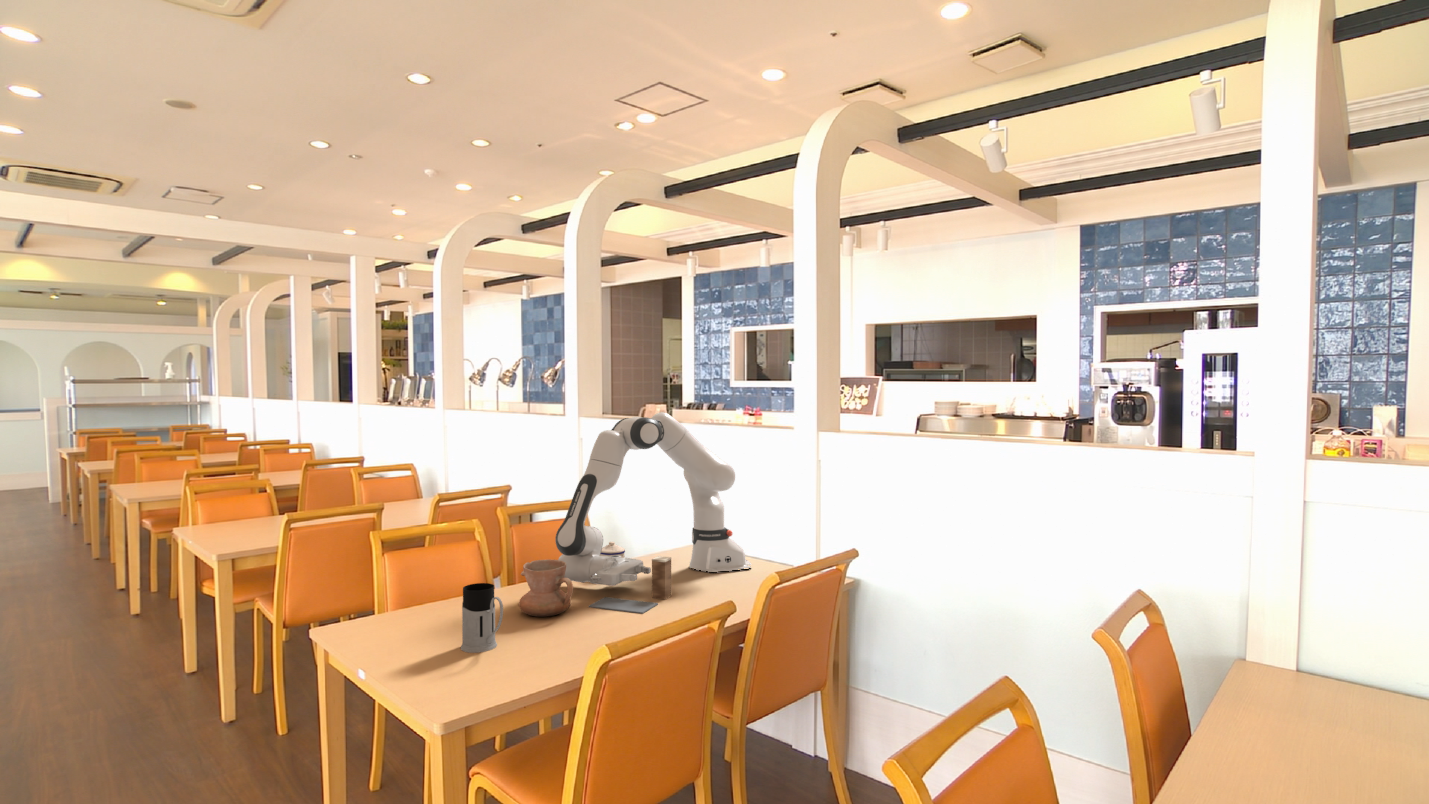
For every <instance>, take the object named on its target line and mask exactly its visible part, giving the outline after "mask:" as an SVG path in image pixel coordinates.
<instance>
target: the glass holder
mask: <svg viewBox="0 0 1429 804" xmlns="http://www.w3.org/2000/svg"><path fill="white" fill-rule="evenodd" d="M495 600H497V601H498V604H499V611H500V612H499V617H498V618H499V619H498V622H497V625H496V604H495ZM461 606H462V607H461V609H462V610H461V611H462V612H461V613H462V614H461V615H462V616H461V619H462V620H461V623H462V625H461V626H462V631H461V632H462V633H461V634H462V641H461V642H462V643H461V645H460V650H461V651H463V652H465V653H470V654H471V653H473V654H475V653H484V652H487V651H492V650H494V649H495V648H497V647H498V643H497V641H496V633H497V631H498V630H499V629H500V628H501V624H502V622H503V618H504V617H503V615H504V604H503V601H502V598H500V597H498V596H495V585H494V584H493V583H490V582H489V583H487V582H477V583H471V584H467V585H465V586H463V587H462V605H461Z"/></svg>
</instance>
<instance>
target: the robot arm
mask: <svg viewBox="0 0 1429 804" xmlns="http://www.w3.org/2000/svg"><path fill="white" fill-rule="evenodd" d="M656 445H658V447H659V448H660V449H661V450H662V451H663V452H664V453H665V454H666V455H667V456H668V457H669V458H670V459H671V460H672V461H673V462H674V463H675V464H676V465H678V467H681V468H682V469H683V476H684V479H685V480H686V482H687V484H688V488H689V492H690V496H691V500H692V506H693V507H692V508H693V527H692V530H691V543H692V551H691V552H692V553H691V558H690V561H689V566H690V567H689V566H688V567H689V568H690V569H691V568H694V569H696V570H695V571H699V570H701V572H706V571H708V572H707V573H709V572H717V573H719V572H718V571H729V572H733V571H732V570H738V569H744V568H750V567H751V566H748V565H752V563H751V561H749V560H747V559H746V554H745V553H746V552H745V551H744V549H743V547H741V546H740V545H739V544H738V543H737V542H735V541H734V540H733V539H731V538H730V537H732V536H733V534H734V533H733V531H732V530H731V529H728V528H727V527H725V506H724V503H723V502H722V500H721V497H720V495H719V492H725V491H727V490H730V489H731V488H732V487H733V486H734V484H735V481H736V472H735V470H734V468H733V467H732V466H731V465H730V464H728V463H727V462H725V461H724V460H722V459H721V458H720V457H719V456H717V454H715V453H714V452H712V450H709V449H708V448H707V447H705V446H704V445H703V444H702V443H701V442H699V441H698V440H697V439H696V438H695V437H694V436H693V435H692V433H690V431H689V430H688V429H687V428H686V427H685V426H684V425H683V424H682V423H680V421H678V420H677V418H676V419H675V417H673V416H672V415H670V414H669V413H667V412H663V411H661V412H658V413H655V414H654V415H652V416H651V417H648V416H647V417H646V416H645V417H644V416H643V417H642V416H632V417H626V418H623V419H620V420H619V421H617V422H616V423H615V424H614V425H613V427H612V428H611V429H608V430H603V431H601V432H600V433H599V434H598V435H597V438H596V440H595V443H594V445H593V447H592V450H591V452H590V456H589V460H588V463H587V466H586V468H585V471H584V474H583V475H582V477H581V478H580V479H579V482H578V483H577V486H576V488H575V491H574V493H573V497H572V498H571V502H570V505H569V507H568V510H567V513H566V516H565V517H564V520H563V522H562V523H561V525H560V526H559V528H558V529H557V531H556V533H555V542H554V543H555V545H556V548H557V550H558V551H559V552H560V553H561V555H560V556H559V557H558V559H557V560H560V561H564V562H566V571H565V576H564V577H565V578H569V579H570V580H571V581H572V582H577V583H586V582H587V583H591V584H594V585H595V584H596V585H604V586H617V585H619V584H621V583H623V582H630V581H631V582H635V581H637V580H638V574H641V573H643V574H645V575H649V574H652V567H649V566H645V565H644V561H643V560H641V559H637V558H632V557H631V558H630V557H625V558H621V556H620V555H615V556H600V554H601V550H602V548H603V547H604V546H603V545H604V536H603V533H602V532H601V530H600V529H599V528H598V527H594V526H590V525H585V524H586V519H587V518H588V514H589V511H590V509H591V507H592V503H593V501H594V499H596V497H597V496H598V495H599V494H601V493H603V492H605V491H609V490H611V489H612V488H614V487H615V485H616V484H617V482H618V480H619V479H620V476H621V473H622V469H623V463H624V459H625V457H626V455H627V453H628V451H629V450H634V451H635V450H636V451H637V450H648V449H651V448H653V447H654V446H656ZM694 569H693V570H694Z"/></svg>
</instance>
